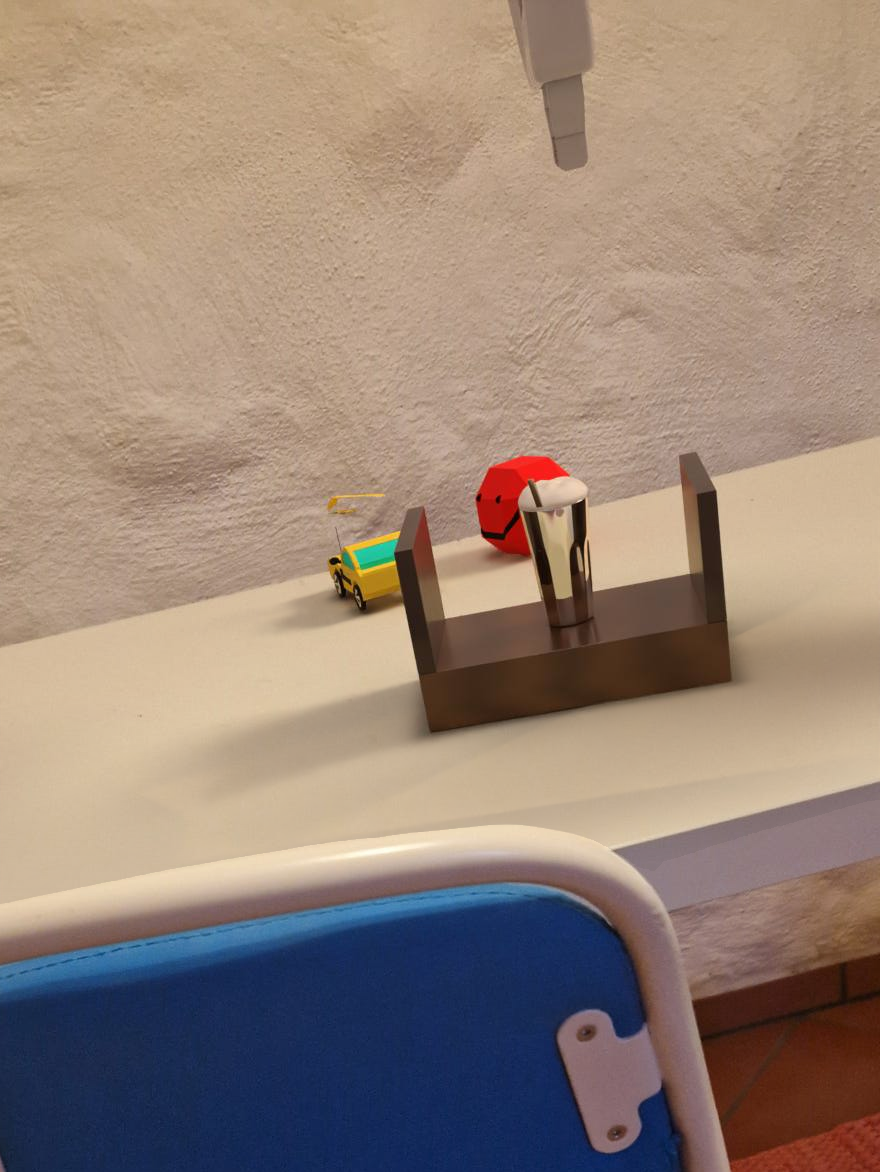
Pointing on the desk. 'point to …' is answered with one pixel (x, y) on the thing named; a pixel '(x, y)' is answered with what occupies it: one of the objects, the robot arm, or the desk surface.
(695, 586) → the shelf
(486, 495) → the ball
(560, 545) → the milkshake
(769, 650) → the desk surface
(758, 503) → the desk surface
